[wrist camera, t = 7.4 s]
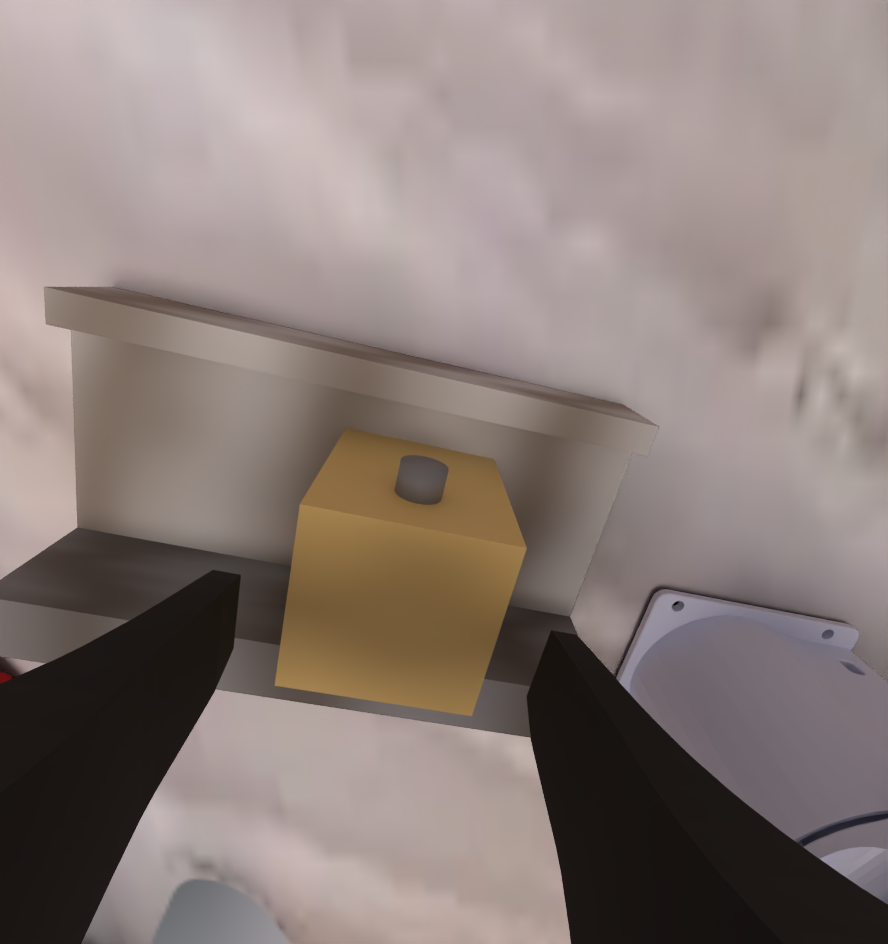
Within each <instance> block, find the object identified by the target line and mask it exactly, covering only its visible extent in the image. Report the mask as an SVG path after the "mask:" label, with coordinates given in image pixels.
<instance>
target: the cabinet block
mask: <svg viewBox="0 0 888 944" xmlns="http://www.w3.org/2000/svg"><path fill="white" fill-rule="evenodd" d="M526 549H527V547H526V544H525V542H524V539H523V536H522V534H521V531H520V528H519V525H518V523H517V520H516V517H515V514H514V512H513V509H512V506H511V504H510V501H509V498H508V495H507V493H506V490H505V487H504V485H503V482H502V479H501V476H500V474H499V471H498V468H497V466H496V463H495V460H494V459H492V458H487V457H482V456H477V455H473V454H468V453H463V452H458V451H454V450H449V449H444V448H440V447H435V446H430V445H425V444H421V443H416V442H411V441H407V440H402V439H397V438H392V437H388V436H383V435H378V434H374V433H369V432H364V431H359V430H355V429H350V428H346V429H345V430H344V432H343V434H342V435H341V437H340V439H339V440H338V442H337V444H336V445H335V447H334V449H333V450H332V452H331V454H330V455H329V457H328V459H327V460H326V462H325V463H324V465H323V467H322V468H321V470H320V472H319V473H318V475H317V477H316V478H315V480H314V482H313V483H312V485H311V487H310V488H309V490H308V492H307V493H306V495H305V496H304V498H303V500H302V501H301V503H300V507H299V514H298V521H297V528H296V535H295V543H294V550H293V557H292V564H291V571H290V578H289V586H288V593H287V600H286V607H285V614H284V621H283V629H282V636H281V643H280V650H279V657H278V664H277V672H276V679H275V686H280V687H287V688H293V689H299V690H306V691H312V692H319V693H325V694H332V695H338V696H345V697H351V698H357V699H364V700H370V701H377V702H383V703H390V704H396V705H402V706H409V707H415V708H422V709H428V710H435V711H441V712H447V713H454V714H460V715H467V716H472V714H473V711H474V708H475V705H476V702H477V699H478V696H479V693H480V690H481V687H482V684H483V681H484V677H485V674H486V671H487V668H488V665H489V662H490V659H491V656H492V653H493V650H494V647H495V644H496V641H497V638H498V635H499V632H500V629H501V626H502V623H503V619H504V616H505V613H506V610H507V607H508V604H509V601H510V598H511V595H512V592H513V589H514V586H515V583H516V580H517V577H518V574H519V571H520V568H521V565H522V561H523V558H524V555H525V552H526Z"/></svg>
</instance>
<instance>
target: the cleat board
mask: <svg viewBox="0 0 888 944" xmlns="http://www.w3.org/2000/svg"><path fill="white" fill-rule="evenodd" d="M44 297H45V317H46V324H47V325H51V326H56V327H61V328H65V329H70V330H71V347H72V377H73V406H74V436H75V465H76V495H77V524H78V528H76V529H75V530H73V531H72V532H70V533H69V534H67V535H66V536H64V537H63V538H61V539H60V540H58V541H57V542H55V543H54V544H53V545H51V546H50V547H48V548H47V549H45V550H44V551H42V552H41V553H39V554H38V555H36V556H35V557H33V558H32V559H30V560H29V561H27V562H26V563H25V564H23V565H22V566H20V567H19V568H17V569H16V570H14V571H13V572H11V573H10V574H8V575H7V576H5V577H4V578H2V579H1V580H0V656H1V657H8V658H14V659H21V660H28V661H34V662H41V663H48V662H51V661H53V660H55V659H57V658H59V657H61V656H63V655H65V654H67V653H69V652H72V651H74V650H76V649H78V648H80V647H82V646H84V645H85V644H87V643H89V642H91V641H93V640H95V639H96V638H98V637H100V636H102V635H104V634H106V633H108V632H109V631H111V630H113V629H115V628H117V627H119V626H120V625H122V624H124V623H126V622H128V621H130V620H131V619H133V618H135V617H136V616H138V615H140V614H141V613H143V612H145V611H146V610H148V609H150V608H151V607H153V606H155V605H156V604H158V603H160V602H161V601H163V600H165V599H166V598H168V597H169V596H171V595H173V594H174V593H176V592H178V591H179V590H181V589H182V588H184V587H186V586H187V585H189V584H190V583H192V582H194V581H195V580H197V579H198V578H200V577H202V576H203V575H205V574H207V573H208V572H210V571H212V570H217V571H223V572H228V573H234V574H240V575H241V579H240V589H239V599H238V610H237V620H236V630H235V640H234V649H233V651H232V653H231V656H230V658H229V660H228V663H227V665H226V667H225V669H224V672H223V674H222V676H221V678H220V681H219V683H218V685H217V687H216V689H217V690H223V691H230V692H237V693H243V694H250V695H256V696H263V697H269V698H276V699H282V700H289V701H295V702H302V703H308V704H315V705H321V706H328V707H334V708H341V709H348V710H354V711H361V712H367V713H374V714H380V715H387V716H393V717H400V718H406V719H413V720H419V721H426V722H432V723H439V724H446V725H452V726H459V727H465V728H472V729H478V730H485V731H491V732H498V733H504V734H511V735H517V736H524V737H530V738H531V735H530V727H529V718H528V707H527V694H528V691H529V688H530V685H531V683H532V680H533V677H534V675H535V672H536V669H537V667H538V664H539V661H540V659H541V656H542V653H543V650H544V648H545V645H546V642H547V640H548V637H549V634H550V632H551V630H553V631H559V632H565V633H570V634H576V635H577V632H576V630H575V628H574V625H573V623H572V620H571V618H570V615H571V612H572V610H573V607H574V605H575V602H576V599H577V597H578V594H579V592H580V589H581V586H582V584H583V581H584V579H585V576H586V573H587V571H588V568H589V565H590V563H591V560H592V558H593V555H594V552H595V550H596V547H597V545H598V542H599V539H600V537H601V534H602V532H603V529H604V526H605V524H606V521H607V519H608V516H609V513H610V511H611V508H612V506H613V503H614V500H615V498H616V495H617V493H618V490H619V487H620V485H621V482H622V480H623V477H624V474H625V472H626V469H627V467H628V464H629V461H630V459H631V456H632V454H638V455H642V456H648V454H649V451H650V449H651V446H652V444H653V441H654V439H655V436H656V434H657V431H658V428H659V426H657V425H655V424H654V423H652V422H651V421H649V420H647V419H646V418H644V417H642V416H641V415H639V414H637V413H636V412H634V411H632V410H631V409H629V408H628V407H626V406H624V405H621V404H617V403H613V402H608V401H604V400H600V399H595V398H591V397H587V396H582V395H578V394H574V393H569V392H565V391H561V390H556V389H552V388H548V387H543V386H539V385H535V384H530V383H526V382H522V381H517V380H513V379H508V378H504V377H500V376H495V375H491V374H487V373H482V372H478V371H474V370H469V369H465V368H461V367H456V366H452V365H448V364H443V363H439V362H435V361H430V360H426V359H422V358H417V357H413V356H409V355H404V354H400V353H396V352H391V351H387V350H383V349H378V348H374V347H370V346H365V345H361V344H357V343H352V342H348V341H344V340H339V339H335V338H331V337H326V336H322V335H318V334H313V333H309V332H305V331H300V330H296V329H292V328H287V327H283V326H279V325H274V324H270V323H265V322H261V321H257V320H252V319H248V318H244V317H239V316H235V315H231V314H226V313H222V312H218V311H213V310H209V309H205V308H200V307H196V306H192V305H187V304H183V303H179V302H174V301H170V300H166V299H161V298H157V297H153V296H148V295H144V294H140V293H135V292H131V291H127V290H122V289H118V288H114V287H44ZM346 428H350V429H355V430H359V431H364V432H369V433H374V434H378V435H383V436H388V437H392V438H397V439H402V440H407V441H411V442H416V443H421V444H425V445H430V446H435V447H440V448H444V449H449V450H454V451H458V452H463V453H468V454H473V455H477V456H482V457H487V458H492V459H494V460H495V463H496V466H497V468H498V471H499V474H500V476H501V479H502V482H503V485H504V487H505V490H506V493H507V495H508V498H509V501H510V504H511V506H512V509H513V512H514V514H515V517H516V520H517V523H518V525H519V528H520V531H521V534H522V536H523V539H524V542H525V544H526V547H527V549H526V552H525V555H524V558H523V561H522V565H521V568H520V571H519V574H518V577H517V580H516V583H515V586H514V589H513V592H512V595H511V598H510V601H509V604H508V607H507V610H506V613H505V616H504V619H503V623H502V626H501V629H500V632H499V635H498V638H497V641H496V644H495V647H494V650H493V653H492V656H491V659H490V662H489V665H488V668H487V671H486V674H485V677H484V681H483V684H482V687H481V690H480V693H479V696H478V699H477V702H476V705H475V708H474V711H473V714H472V716H467V715H460V714H454V713H447V712H441V711H435V710H428V709H422V708H415V707H409V706H402V705H396V704H390V703H383V702H377V701H370V700H364V699H357V698H351V697H345V696H338V695H332V694H325V693H319V692H312V691H306V690H299V689H293V688H287V687H280V686H275V679H276V672H277V664H278V657H279V650H280V643H281V636H282V629H283V621H284V614H285V607H286V600H287V593H288V586H289V578H290V571H291V564H292V557H293V550H294V543H295V535H296V528H297V521H298V514H299V507H300V503H301V501H302V500H303V498H304V496H305V495H306V493H307V492H308V490H309V488H310V487H311V485H312V483H313V482H314V480H315V478H316V477H317V475H318V473H319V472H320V470H321V468H322V467H323V465H324V463H325V462H326V460H327V459H328V457H329V455H330V454H331V452H332V450H333V449H334V447H335V445H336V444H337V442H338V440H339V439H340V437H341V435H342V434H343V432H344V430H345V429H346ZM577 636H578V635H577Z"/></svg>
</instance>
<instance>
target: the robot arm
mask: <svg viewBox="0 0 888 944" xmlns="http://www.w3.org/2000/svg"><path fill="white" fill-rule="evenodd" d="M240 579H241V575H240V574H234V573H228V572H223V571H217V570H212V571H210V572H208V573H207V574H205V575H203V576H202V577H200V578H198V579H197V580H195V581H194V582H192V583H190V584H189V585H187V586H186V587H184V588H182V589H181V590H179V591H178V592H176V593H174V594H173V595H171V596H169V597H168V598H166V599H165V600H163V601H161V602H160V603H158V604H156V605H155V606H153V607H151V608H150V609H148V610H146V611H145V612H143V613H141V614H140V615H138V616H136V617H135V618H133V619H131V620H130V621H128V622H126V623H124V624H122V625H120V626H119V627H117V628H115V629H113V630H111V631H109V632H108V633H106V634H104V635H102V636H100V637H98V638H96V639H95V640H93V641H91V642H89V643H87V644H85V645H84V646H82V647H80V648H78V649H76V650H74V651H72V652H69V653H67V654H65V655H63V656H61V657H59V658H57V659H55V660H53V661H51V662H48V663H46V664H44V665H42V666H40V667H37V668H35V669H33V670H31V671H28V672H26V673H24V674H22V675H20V676H17V677H15V678H12V679H10V680H8V681H5V682H3V683H0V944H81V943H82V941H83V938H84V936H85V934H86V932H87V930H88V928H89V926H90V923H91V921H92V919H93V917H94V915H95V913H96V911H97V908H98V906H99V904H100V902H101V900H102V898H103V896H104V893H105V891H106V889H107V887H108V885H109V883H110V881H111V879H112V876H113V874H114V872H115V870H116V868H117V866H118V864H119V862H120V860H121V858H122V856H123V854H124V852H125V850H126V847H127V845H128V843H129V841H130V839H131V837H132V835H133V833H134V831H135V829H136V827H137V825H138V823H139V821H140V819H141V817H142V815H143V813H144V811H145V809H146V808H147V806H148V804H149V802H150V800H151V798H152V797H153V795H154V793H155V791H156V790H157V788H158V786H159V785H160V783H161V781H162V780H163V778H164V776H165V775H166V773H167V771H168V769H169V768H170V766H171V764H172V763H173V761H174V759H175V758H176V756H177V754H178V753H179V751H180V749H181V748H182V746H183V744H184V743H185V741H186V739H187V738H188V736H189V734H190V732H191V731H192V729H193V727H194V726H195V724H196V722H197V721H198V719H199V717H200V716H201V714H202V712H203V710H204V709H205V707H206V705H207V704H208V702H209V700H210V698H211V697H212V695H213V693H214V691H215V689H216V687H217V685H218V683H219V681H220V678H221V676H222V674H223V672H224V669H225V667H226V665H227V663H228V660H229V658H230V656H231V653H232V651H233V649H234V640H235V630H236V620H237V610H238V599H239V589H240ZM677 601H680V602H679V603H678V604H677V605H675V606H672V605H673V603H675V602H677ZM858 638H859V632H858V631H857V630H856V629H855V628H854V627H853V626H851V625H849V624H846V623H841V622H836V621H830V620H825V619H820V618H815V617H809V616H804V615H799V614H794V613H789V612H783V611H778V610H773V609H768V608H762V607H757V606H752V605H747V604H741V603H736V602H731V601H726V600H721V599H715V598H710V597H705V596H700V595H694V594H689V593H684V592H679V591H674V590H668V589H663V590H660V591H658V592H656V593H655V594H654V595H653V597H652V599H651V601H650V603H649V606H648V608H647V610H646V612H645V615H644V617H643V619H642V621H641V623H640V626H639V628H638V630H637V632H636V635H635V637H634V639H633V641H632V644H631V646H630V648H629V650H628V653H627V655H626V657H625V659H624V662H623V664H622V666H621V668H620V670H619V673H618V675H617V677H616V678H615V677H614V676H613V675H612V674H611V672H610V671H609V670H608V669H607V668H606V667H605V666H604V665H603V663H602V662H601V661H600V660H599V659H598V658H597V657H596V656H595V654H594V653H593V652H592V651H591V650H590V649H589V648H588V647H587V646H586V645H585V643H584V642H583V641H582V640H581V639H580V638H579V637H578V636H577V635H576V634H570V633H565V632H559V631H553V630H551V632H550V634H549V637H548V640H547V642H546V645H545V648H544V650H543V653H542V656H541V659H540V661H539V664H538V667H537V669H536V672H535V675H534V677H533V680H532V683H531V685H530V688H529V691H528V694H527V707H528V718H529V727H530V735H531V742H532V746H533V751H534V755H535V760H536V764H537V768H538V773H539V777H540V781H541V785H542V790H543V794H544V798H545V802H546V806H547V811H548V815H549V819H550V823H551V827H552V832H553V836H554V840H555V844H556V849H557V854H558V859H559V864H560V869H561V875H562V882H563V888H564V895H565V902H566V909H567V916H568V923H569V930H570V938H571V944H888V682H887V681H885V680H884V679H883V678H882V677H881V676H880V675H878V674H877V673H876V672H875V671H874V670H873V669H872V668H870V667H869V666H868V665H867V664H866V663H865V662H863V661H862V660H861V659H860V658H859V657H858V656H856V655H855V654H854V653H853V652H852V651H851V649H852V648H853V646H854V645H855V643H856V642H857V640H858Z"/></svg>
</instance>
